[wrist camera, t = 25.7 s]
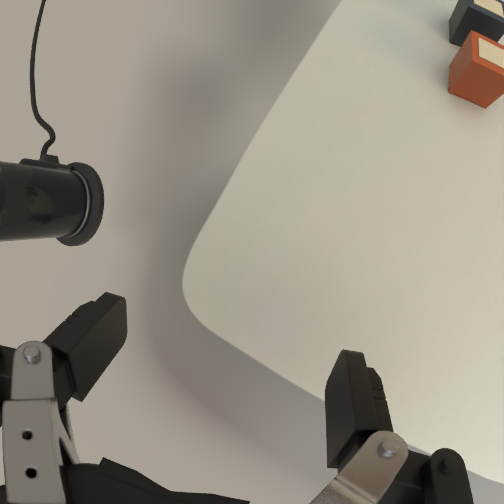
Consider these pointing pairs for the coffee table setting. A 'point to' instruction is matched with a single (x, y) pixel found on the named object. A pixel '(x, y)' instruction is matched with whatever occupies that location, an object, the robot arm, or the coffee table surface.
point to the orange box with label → (478, 70)
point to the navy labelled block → (477, 20)
